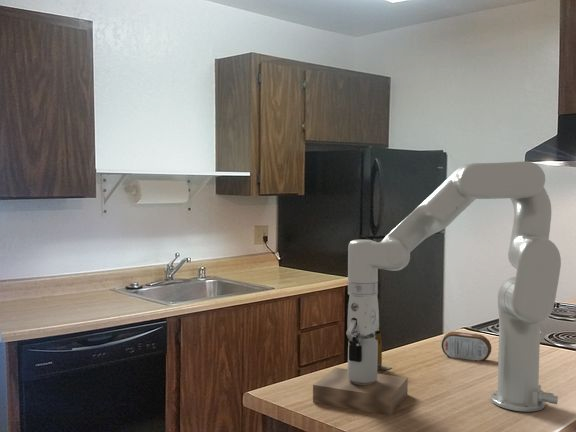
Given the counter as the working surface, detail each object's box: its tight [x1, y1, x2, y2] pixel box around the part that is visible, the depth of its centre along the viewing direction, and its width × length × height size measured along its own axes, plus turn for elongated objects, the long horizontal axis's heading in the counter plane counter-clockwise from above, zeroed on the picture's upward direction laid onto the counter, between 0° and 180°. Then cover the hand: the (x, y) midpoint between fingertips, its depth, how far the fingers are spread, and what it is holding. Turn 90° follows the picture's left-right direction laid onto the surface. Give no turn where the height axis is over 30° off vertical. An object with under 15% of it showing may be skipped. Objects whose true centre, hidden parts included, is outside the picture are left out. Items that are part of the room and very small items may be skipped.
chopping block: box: [312, 367, 409, 417], centre depth 153 cm, size 20×16×5 cm
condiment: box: [375, 328, 392, 374], centre depth 178 cm, size 7×8×12 cm
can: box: [347, 334, 378, 385], centre depth 153 cm, size 8×8×12 cm
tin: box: [441, 331, 492, 362], centre depth 188 cm, size 15×3×8 cm, turn 65°
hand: (362, 356), depth 153 cm, fingers open, 7 cm apart
